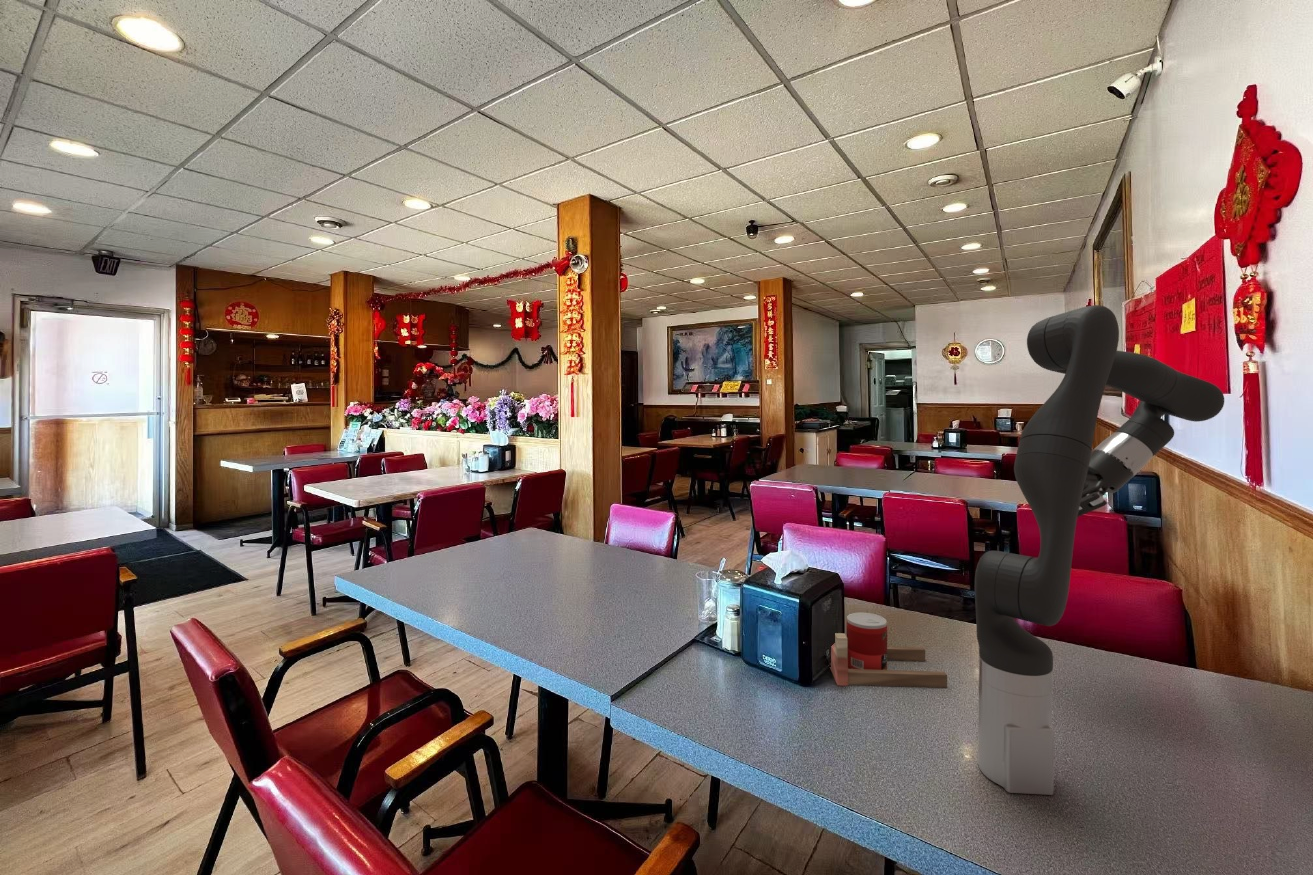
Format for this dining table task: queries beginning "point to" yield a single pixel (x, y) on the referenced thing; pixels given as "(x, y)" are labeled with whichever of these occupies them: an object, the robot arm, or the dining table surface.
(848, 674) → the rail
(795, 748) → the dining table surface
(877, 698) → the dining table surface
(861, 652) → the canned food
